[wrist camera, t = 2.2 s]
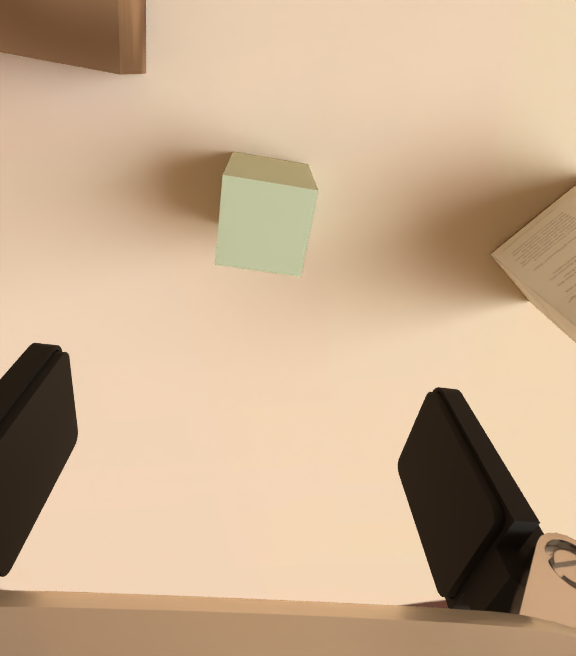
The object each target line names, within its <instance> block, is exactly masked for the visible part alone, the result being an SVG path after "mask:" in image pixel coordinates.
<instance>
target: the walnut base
mask: <svg viewBox="0 0 576 656" xmlns="http://www.w3.org/2000/svg"><path fill="white" fill-rule="evenodd" d="M0 52H4V53H9V54H14V55H20V56H25V57H30V58H36V59H41V60H46V61H52V62H57V63H62V64H68V65H73V66H78V67H84V68H89V69H94V70H100V71H105V72H110V73H116V74H143V73H146V0H0Z"/></svg>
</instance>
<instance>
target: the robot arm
mask: <svg viewBox="0 0 576 656" xmlns="http://www.w3.org/2000/svg"><path fill="white" fill-rule="evenodd" d="M77 436H78V428H77V419H76V411H75V402H74V394H73V385H72V376H71V368H70V359H69V355H68V353H67V352H62V349H61V347H60V346H58V345H50V344H41V343H32V344H31V345H30V346H29V347H28V348H27V349H26V351H25V352H24V353H23V354H22V355H21V356H20V357H19V359H18V360H17V361H16V362H15V363H14V364H13V366H12V367H11V368H10V369H9V370H8V371H7V372H6V374H5V375H4V376H3V377H2V378H1V379H0V576H1V577H4V576H6V575H7V574H8V573H9V572H10V570H11V568H12V566H13V564H14V562H15V561H16V559H17V557H18V555H19V553H20V551H21V549H22V547H23V545H24V543H25V541H26V539H27V537H28V535H29V533H30V532H31V530H32V528H33V526H34V524H35V522H36V520H37V518H38V516H39V514H40V512H41V510H42V508H43V506H44V504H45V503H46V501H47V499H48V497H49V495H50V493H51V491H52V489H53V487H54V485H55V483H56V481H57V479H58V477H59V475H60V474H61V472H62V470H63V468H64V466H65V464H66V462H67V460H68V458H69V456H70V454H71V452H72V450H73V448H74V446H75V444H76V441H77ZM398 472H399V476H400V479H401V482H402V485H403V488H404V491H405V494H406V497H407V500H408V503H409V506H410V509H411V512H412V515H413V518H414V521H415V524H416V527H417V530H418V533H419V536H420V539H421V543H422V546H423V549H424V552H425V555H426V558H427V561H428V564H429V567H430V570H431V573H432V576H433V579H434V582H435V585H436V588H437V591H438V593H439V594H440V596H442V597H445V599H446V602H447V605H448V608H449V609H447V608H433V607H413V606H394V605H373V604H353V603H332V602H310V601H288V600H265V599H242V598H218V597H194V596H169V595H142V594H116V593H89V592H57V591H8V590H0V656H576V540H574V539H572V538H570V537H568V536H566V535H562V534H558V533H546V534H544V533H543V532H542V530H541V528H540V527H539V524H540V522H539V520H538V518H537V517H536V515H535V513H534V512H533V510H532V509H531V507H530V505H529V504H528V502H527V500H526V499H525V497H524V495H523V494H522V492H521V490H520V489H519V487H518V485H517V484H516V482H515V481H514V479H513V477H512V476H511V474H510V472H509V471H508V469H507V467H506V466H505V464H504V462H503V461H502V459H501V458H500V456H499V454H498V453H497V451H496V449H495V448H494V446H493V444H492V443H491V441H490V439H489V438H488V436H487V434H486V433H485V431H484V430H483V428H482V426H481V425H480V423H479V421H478V420H477V418H476V416H475V415H474V413H473V411H472V410H471V408H470V406H469V405H468V403H467V402H466V400H465V398H464V397H463V395H462V393H461V392H460V391H459V390H457V389H448V388H439V387H438V388H435V389H434V390H433V392H429V393H428V394H427V395H426V397H425V400H424V402H423V404H422V407H421V409H420V411H419V414H418V416H417V418H416V420H415V423H414V425H413V427H412V430H411V432H410V434H409V437H408V439H407V441H406V444H405V446H404V448H403V451H402V453H401V455H400V458H399V461H398Z"/></svg>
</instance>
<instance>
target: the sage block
mask: <svg viewBox="0 0 576 656" xmlns="http://www.w3.org/2000/svg"><path fill="white" fill-rule="evenodd" d="M317 195H318V188H317V186H316V183H315V181H314V178H313V176H312V173H311V170H310V168H309V165H307V164H302V163H296V162H290V161H284V160H278V159H273V158H267V157H261V156H255V155H249V154H244V153H238V152H233V153H232V155H231V157H230V160H229V162H228V164H227V166H226V168H225V171H224V173H223V176H222V188H221V200H220V212H219V224H218V235H217V247H216V259H215V265H221V266H228V267H235V268H242V269H249V270H256V271H263V272H270V273H277V274H285V275H292V276H299V277H301V274H302V269H303V264H304V259H305V254H306V249H307V244H308V239H309V234H310V229H311V224H312V219H313V214H314V210H315V205H316V200H317Z"/></svg>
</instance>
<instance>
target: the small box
mask: <svg viewBox="0 0 576 656" xmlns="http://www.w3.org/2000/svg"><path fill="white" fill-rule="evenodd" d="M491 256H492V257H493V258H494V259H495V261H496V262H497V263H498V264H499V265H500V266H501V268H502V269H503V270H504V271H505V272H506V274H507V275H508V276H509V277H510V278H511V280H512V281H513V282H514V283H515V284H516V285H517V287H518V288H519V289H520V290H521V292H522V293H523V294H524V295H525V296H526V298H527V299H528V300H529V301H530V302H531V303H532V304H533V305H534V306H535V307H536V308H537V309H538V310H540V311H541V312H542V313H543V314H544V315H545V316H546V317H547V318H548V319H550V320H551V321H552V322H553V323H554V324H555V325H556V326H557V327H558V328H560V329H561V330H562V331H563V332H564V333H565V334H566V335H568V336H569V337H570V338H571V339H572V340H573V341H575V342H576V185H575V186H574V187H573V188H572V189H570V190H569V191H568V192H567V193H565V194H564V195H563V196H562V197H560V198H559V199H558V200H557V201H555V202H554V203H553V204H552V205H550V206H549V207H548V208H547V209H546V210H544V211H543V212H542V213H541V214H539V215H538V216H537V217H536V218H534V219H533V220H532V221H531V222H530V223H528V224H527V225H526V226H525V227H523V228H522V229H521V230H520V231H519V232H517V233H516V234H515V235H514V236H512V237H511V238H510V239H509V240H508V241H506V242H505V243H504V244H503V245H501V246H500V247H499V248H498V249H496V250H495V251H494V252H493V253H492V254H491Z"/></svg>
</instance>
